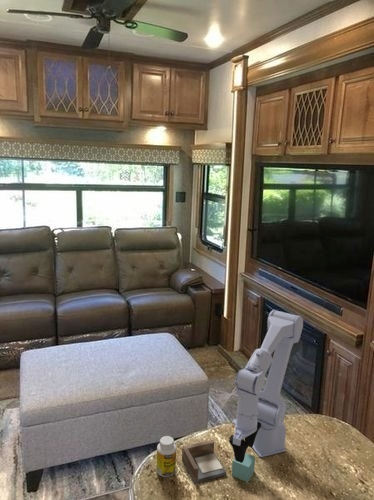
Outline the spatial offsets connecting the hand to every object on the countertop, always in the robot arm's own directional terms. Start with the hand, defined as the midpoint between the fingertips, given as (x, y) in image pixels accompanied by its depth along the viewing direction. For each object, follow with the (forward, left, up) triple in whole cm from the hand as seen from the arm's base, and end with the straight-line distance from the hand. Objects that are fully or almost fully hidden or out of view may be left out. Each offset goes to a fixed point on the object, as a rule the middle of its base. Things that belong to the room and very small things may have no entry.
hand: (244, 453), depth 120 cm
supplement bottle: (+21, -8, -7) cm, 23 cm away
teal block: (0, 0, -7) cm, 7 cm away
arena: (+10, -6, -7) cm, 13 cm away
